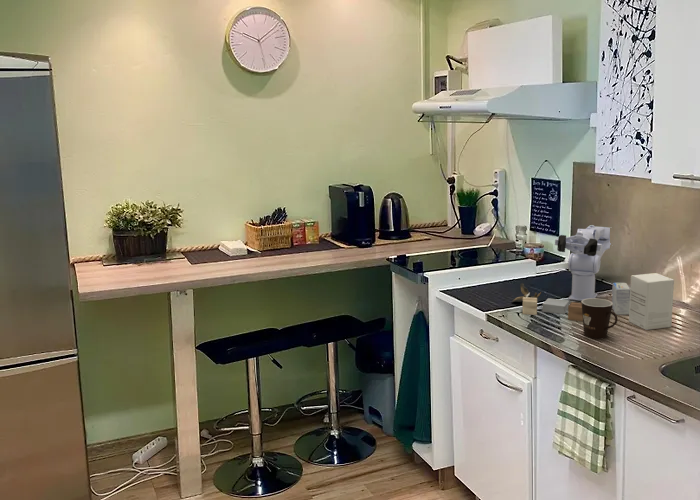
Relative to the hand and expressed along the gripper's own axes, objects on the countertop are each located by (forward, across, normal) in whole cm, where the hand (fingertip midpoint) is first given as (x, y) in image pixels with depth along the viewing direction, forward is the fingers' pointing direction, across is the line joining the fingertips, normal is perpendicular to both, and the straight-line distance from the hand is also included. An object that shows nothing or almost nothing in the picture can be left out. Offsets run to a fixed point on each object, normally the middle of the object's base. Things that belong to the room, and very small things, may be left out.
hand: (572, 249), depth 222 cm
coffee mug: (+18, +13, +21) cm, 31 cm away
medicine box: (-10, +15, +21) cm, 27 cm away
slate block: (-3, -4, +22) cm, 23 cm away
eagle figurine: (-6, -15, +22) cm, 28 cm away
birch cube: (+3, -11, +22) cm, 25 cm away
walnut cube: (+3, +4, +21) cm, 22 cm away
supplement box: (0, +25, +20) cm, 32 cm away
